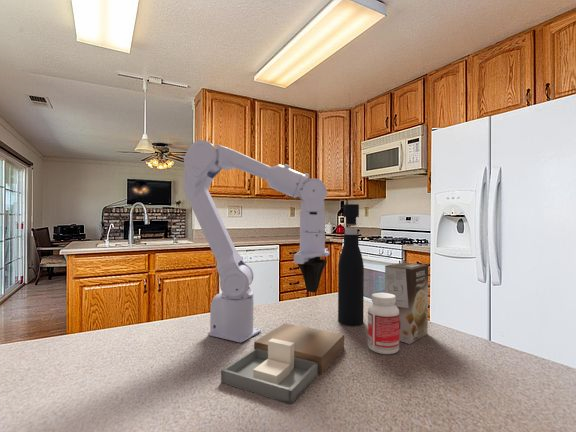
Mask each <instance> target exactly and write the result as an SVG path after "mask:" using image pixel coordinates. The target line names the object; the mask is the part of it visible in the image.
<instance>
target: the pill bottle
mask: <svg viewBox="0 0 576 432" xmlns="http://www.w3.org/2000/svg"><path fill="white" fill-rule="evenodd" d="M371 302H372V303H371V304H369V306H368V308H367V345H368V348H369V349H370V350H371V351H373V352H374V353H377V354H381V355H392V354H393V355H394V354H395V353H397V352H398V351H399V350H400V341H399V309H398V308H397V307H396V306H395V305H394V304H395V302H396V296H395V295H393V294H389V293H385V292H374V293H372V294H371Z"/></svg>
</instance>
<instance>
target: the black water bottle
mask: <svg viewBox="0 0 576 432" xmlns="http://www.w3.org/2000/svg"><path fill="white" fill-rule="evenodd" d="M343 217H344V218H346V220H345V225H346V227H345V228H344V234H343V246H342V248H341V252H340V255H339V259H338V266H337V267H338V268H337V272H338V273H337V274H338V276H337V278H338V279H337V280H338V282H337V284H338V285H337V292H338V293H337V294H338V295H337V297H338V298H337V322H338V323H339V324H341V325H344V326H349V327H351V326H352V327H353V326H354V327H355V326H356V325H357V326H361V325H363V324H364V309H365V308H364V297H365V296H364V292H365V291H364V284H365V283H364V282H365V281H364V280H365V278H364V277H365V267H364V266H365V265H364V260H363V256H362V252H361V249H360V246H359V243H360V242H359V234H358V227H357V218H359V217H360V205H359V204H358V203H357V204H356V203H350V204H349V203H348V204H347V203H346V204H343ZM355 226H356V227H355ZM357 326H356V327H357Z"/></svg>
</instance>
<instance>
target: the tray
mask: <svg viewBox="0 0 576 432" xmlns="http://www.w3.org/2000/svg"><path fill="white" fill-rule="evenodd" d="M267 359H268V351H266V350H262V349H258V348H255V349H254V348H253V349H252V350H250V351H249V352H247V353H245V354H244V355H242V356H240V357H239V358H237V359H236V360H235V361H232V362H231V363H230V364H228V365H227V366H225V367H224V368H222V369H221V371H220V374H221V375H220V377H221V378H220V379H221V380H220V382H221V383H223V384H225V385H228V386H232V387H235V388H238V389H240V390H244V391H248V392H250V393H251V392H252V393H255V394H258V395H259V396H264V397H267V398H270V399H274V400H276V401H279V402H283V403H286V404H289V405H292V404H293V403H295V401H296V400H297V399H298V397H299V396H300V395H301V394H302V393H303V392H304V391H305V390H306V389H307V388H308V387H309V385H310V384H311V383H312V382H313V381H314V380H315V378H317V376H318V375H319V374H318V363H316V362H312V361H308V360H304V359H300V358H295V357H294V369H293V370H292V371H291V372H290V374H289V375H288V376H286V377H285V378H284V379H283V380H282V381H281V382H280V383H279V384H278V385H277V384H274V383H270V382H267V381H263V380H260V379H257V378H253V369H255V368H256V367H257V366H259V365H260V364H261V363H263V362H264V361H265V360H267Z"/></svg>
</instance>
